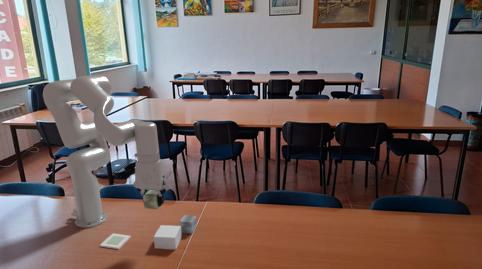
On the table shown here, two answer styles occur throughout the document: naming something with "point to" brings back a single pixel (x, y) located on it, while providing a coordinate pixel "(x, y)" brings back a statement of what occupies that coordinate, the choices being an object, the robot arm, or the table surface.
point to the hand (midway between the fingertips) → (153, 203)
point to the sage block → (150, 199)
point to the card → (115, 241)
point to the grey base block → (167, 237)
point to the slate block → (188, 224)
